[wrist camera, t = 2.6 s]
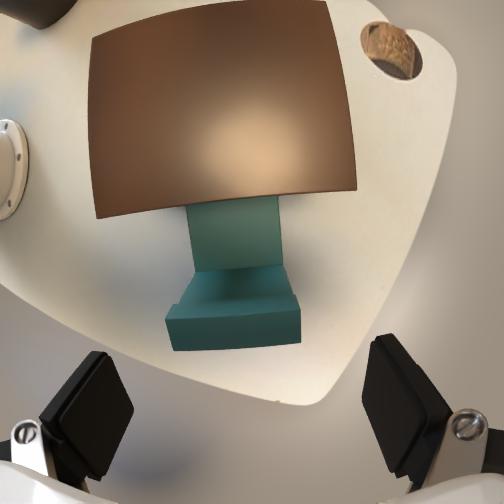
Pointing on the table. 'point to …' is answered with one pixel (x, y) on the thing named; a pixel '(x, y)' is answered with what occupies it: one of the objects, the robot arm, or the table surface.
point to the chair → (235, 280)
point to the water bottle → (36, 11)
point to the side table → (218, 107)
